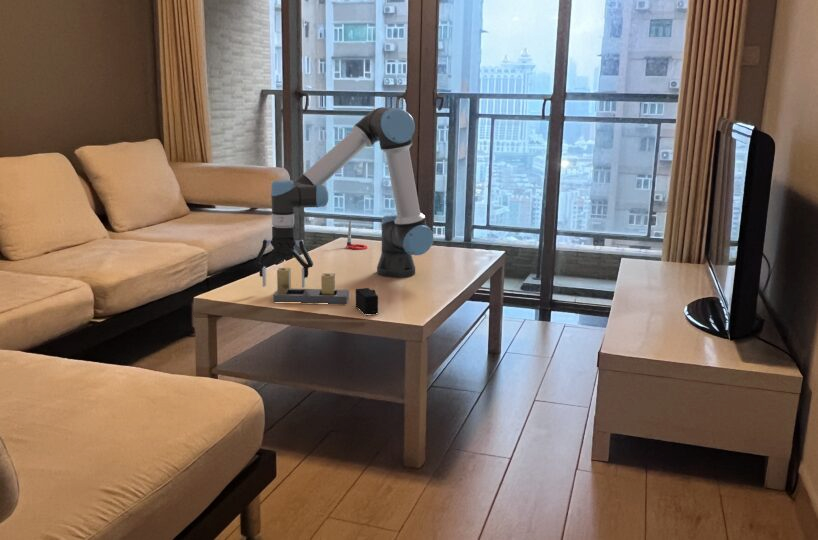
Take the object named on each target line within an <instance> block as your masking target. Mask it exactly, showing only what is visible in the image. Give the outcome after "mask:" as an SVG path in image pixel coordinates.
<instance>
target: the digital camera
mask: <svg viewBox="0 0 818 540" xmlns="http://www.w3.org/2000/svg"><path fill="white" fill-rule="evenodd" d="M356 307H358V308H359V309H360V310H361V311H362V312H363V313H364V314H376V313H378V314H379V295H377V293H376V291H375V289H370V288H369V287H363V288H356V289H355V308H356ZM358 308H357V309H358ZM359 309H358V310H359ZM360 310H359V311H360ZM361 311H360V312H361ZM374 311H375V312H374ZM362 312H361V313H362ZM363 313H362V314H363ZM364 314H363V315H364Z"/></svg>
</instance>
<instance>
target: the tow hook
mask: <svg viewBox="0 0 818 540" xmlns="http://www.w3.org/2000/svg"><path fill="white" fill-rule="evenodd" d="M348 221H349V223H348V232H347V241H346V247H345V249H346V250H349V249H351V250H355V251H356V250H357V251H358V250H361V251H363V250H367V249H368V246H367V245H365V244H359V243H353V244H352V236H351V235H352V219H349V220H348Z"/></svg>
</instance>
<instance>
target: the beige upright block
mask: <svg viewBox="0 0 818 540" xmlns="http://www.w3.org/2000/svg"><path fill="white" fill-rule="evenodd" d="M335 282H336V273H330V272H329V273H327V272H324V273H322V275H321V282H320V283H321V286H320V287H321V289H322V295H335V290H336V283H335Z"/></svg>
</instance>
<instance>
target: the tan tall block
mask: <svg viewBox="0 0 818 540" xmlns="http://www.w3.org/2000/svg"><path fill="white" fill-rule="evenodd" d="M291 273H292V271H291V267H278V268H277V270H276V275H277V276H276V279H277V281H276V284H277V287H276V288H277V290H278V288H288V289H292V280H291V278H292V274H291ZM277 290H276V291H277Z"/></svg>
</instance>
